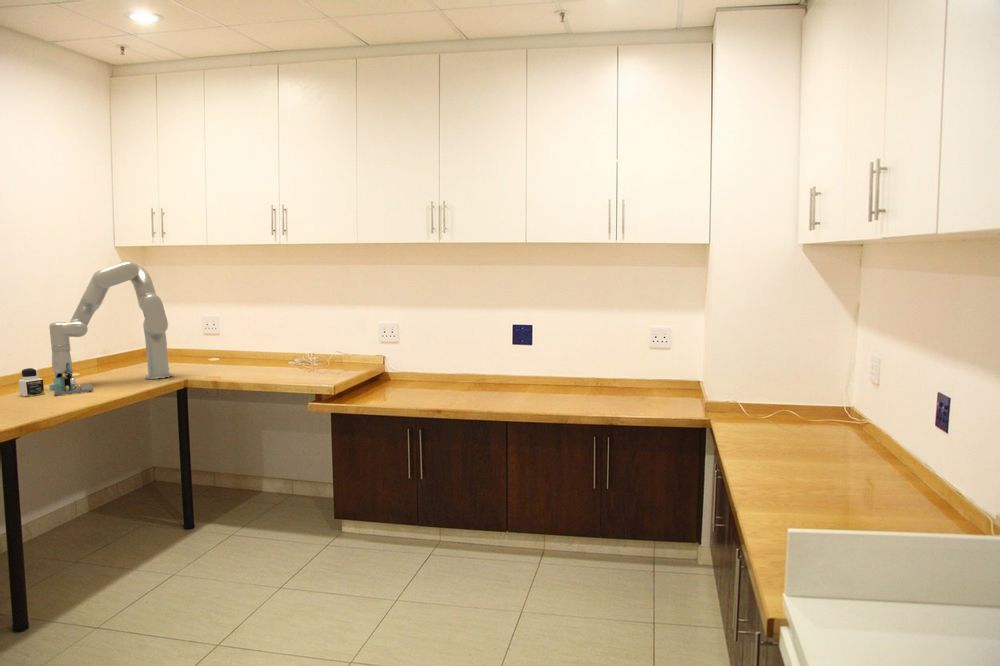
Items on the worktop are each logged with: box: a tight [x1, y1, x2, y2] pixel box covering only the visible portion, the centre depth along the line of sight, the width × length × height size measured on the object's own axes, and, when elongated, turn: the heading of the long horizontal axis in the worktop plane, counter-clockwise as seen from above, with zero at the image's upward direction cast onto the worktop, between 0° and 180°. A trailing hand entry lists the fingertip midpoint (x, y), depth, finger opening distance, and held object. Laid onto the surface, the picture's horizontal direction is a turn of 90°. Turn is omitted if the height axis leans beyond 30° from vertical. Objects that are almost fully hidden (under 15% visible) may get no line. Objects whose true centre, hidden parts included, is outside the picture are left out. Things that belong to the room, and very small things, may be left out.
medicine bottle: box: [17, 367, 45, 397], centre depth 326 cm, size 7×7×12 cm
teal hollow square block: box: [49, 375, 75, 391], centre depth 341 cm, size 9×6×5 cm
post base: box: [53, 377, 94, 396], centre depth 332 cm, size 15×15×6 cm
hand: (64, 385), depth 342 cm, fingers open, 7 cm apart
